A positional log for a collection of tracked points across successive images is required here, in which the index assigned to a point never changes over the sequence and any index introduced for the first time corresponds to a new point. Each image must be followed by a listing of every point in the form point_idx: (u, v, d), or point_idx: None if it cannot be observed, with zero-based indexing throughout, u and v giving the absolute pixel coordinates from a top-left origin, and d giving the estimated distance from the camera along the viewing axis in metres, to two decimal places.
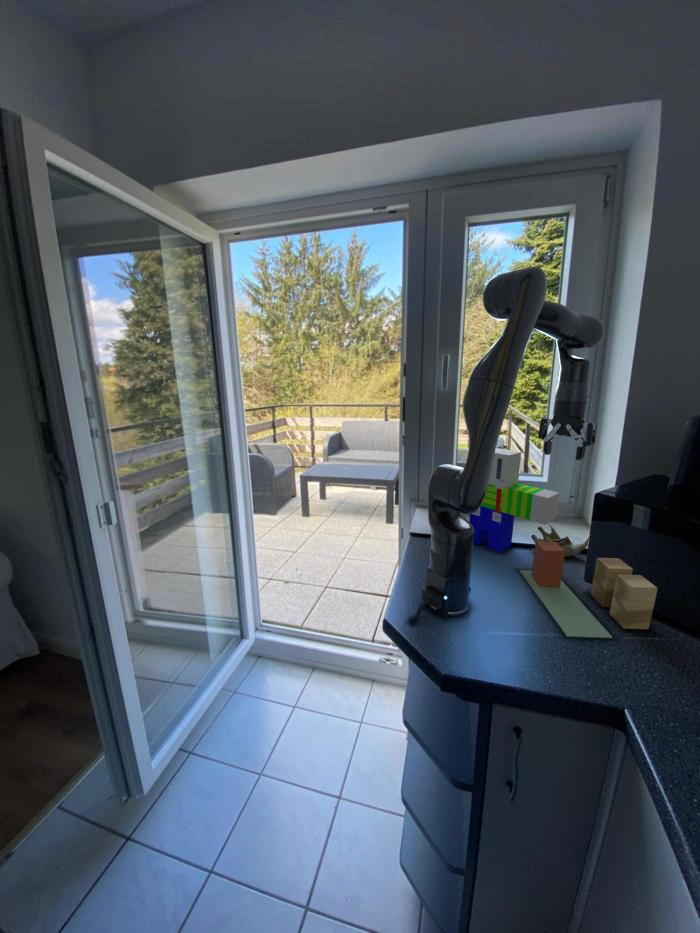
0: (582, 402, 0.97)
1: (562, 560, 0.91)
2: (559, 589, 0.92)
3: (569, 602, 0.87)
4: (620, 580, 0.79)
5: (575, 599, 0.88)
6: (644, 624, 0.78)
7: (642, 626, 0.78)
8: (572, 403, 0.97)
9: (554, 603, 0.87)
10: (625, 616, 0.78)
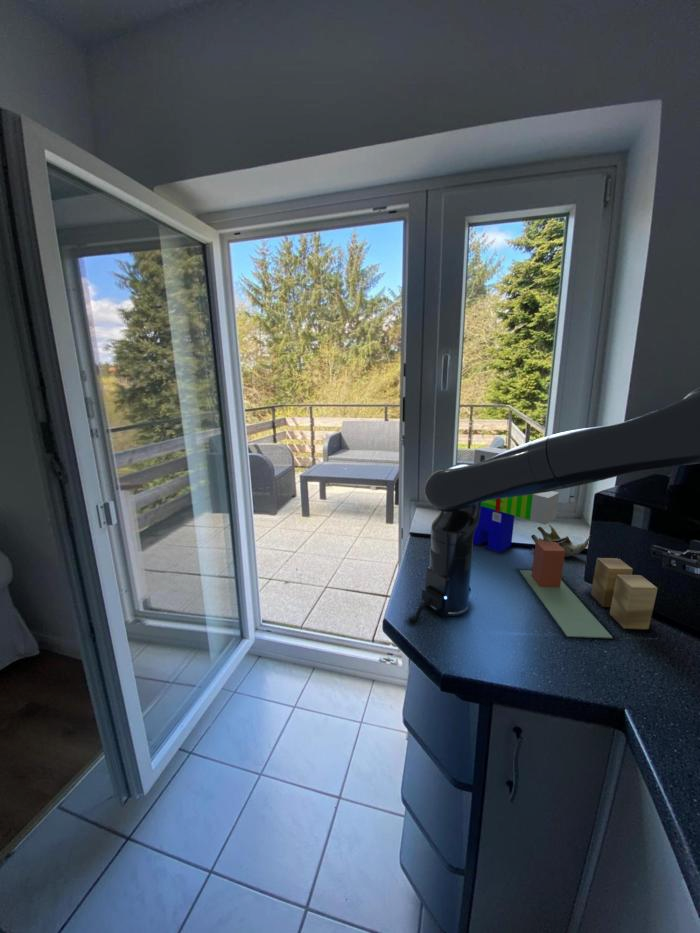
0: None
1: (562, 560, 0.91)
2: (559, 589, 0.92)
3: (569, 602, 0.87)
4: (620, 580, 0.79)
5: (575, 599, 0.88)
6: (644, 624, 0.78)
7: (642, 626, 0.78)
8: None
9: (554, 603, 0.87)
10: (625, 616, 0.78)
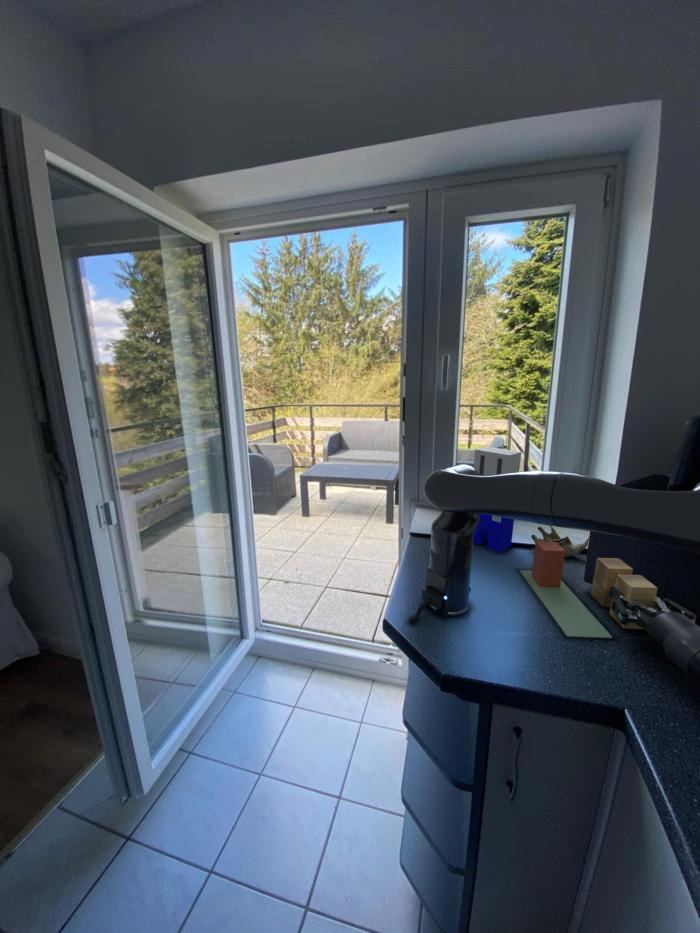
0: (664, 636, 0.66)
1: (562, 560, 0.91)
2: (559, 589, 0.92)
3: (569, 602, 0.87)
4: (620, 579, 0.80)
5: (575, 599, 0.88)
6: None
7: None
8: (674, 626, 0.66)
9: (554, 603, 0.87)
10: None
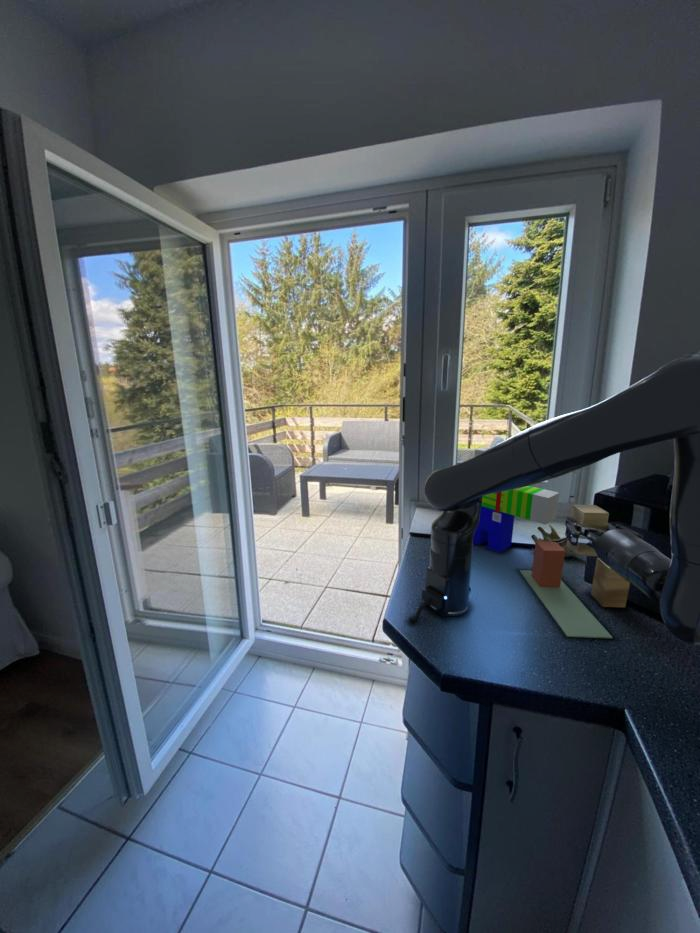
0: (608, 549, 0.69)
1: (562, 560, 0.91)
2: (559, 589, 0.92)
3: (569, 602, 0.87)
4: (575, 509, 0.82)
5: (575, 599, 0.88)
6: None
7: (595, 552, 0.81)
8: (618, 538, 0.68)
9: (554, 603, 0.87)
10: None
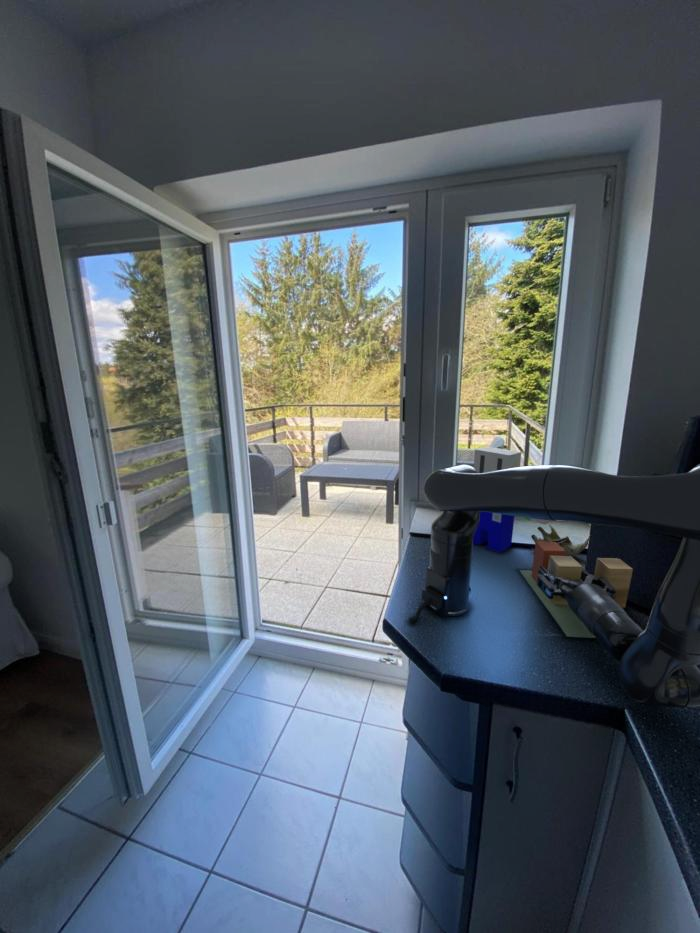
0: (578, 604, 0.74)
1: None
2: None
3: None
4: (551, 560, 0.87)
5: None
6: None
7: None
8: (587, 595, 0.73)
9: None
10: None
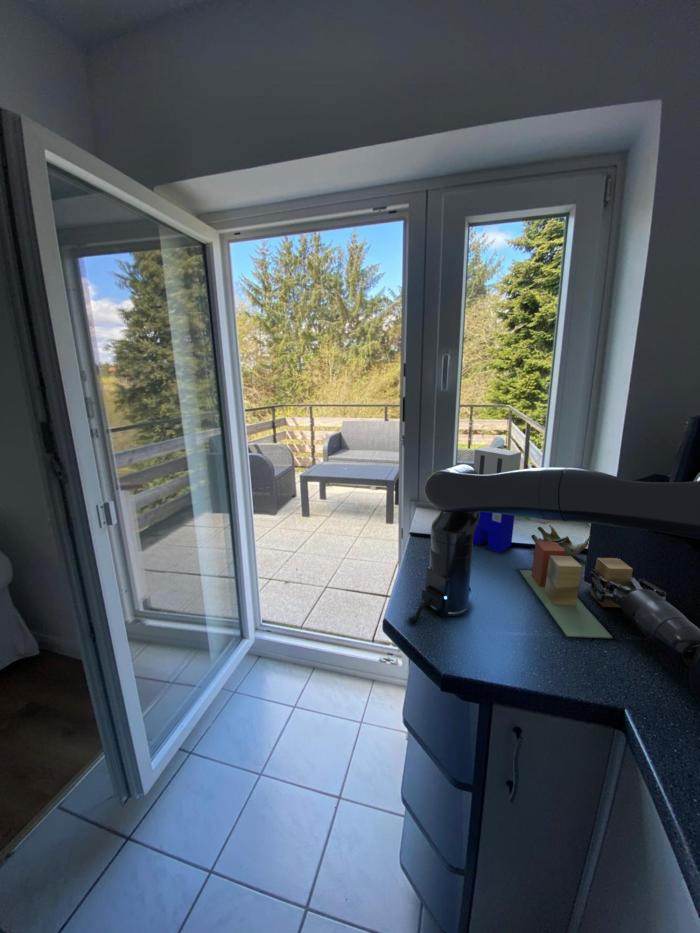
0: (635, 610, 0.73)
1: None
2: None
3: None
4: (551, 560, 0.87)
5: None
6: (572, 600, 0.86)
7: (570, 602, 0.86)
8: (644, 601, 0.73)
9: None
10: (555, 593, 0.86)
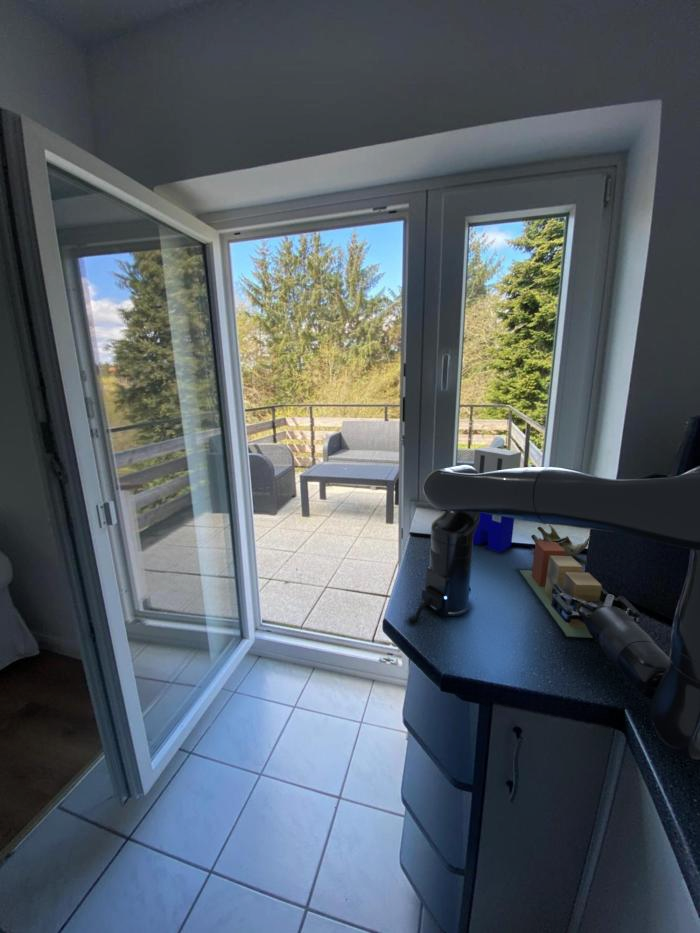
0: (600, 630, 0.67)
1: None
2: None
3: None
4: (551, 560, 0.87)
5: None
6: None
7: None
8: (609, 620, 0.66)
9: None
10: None
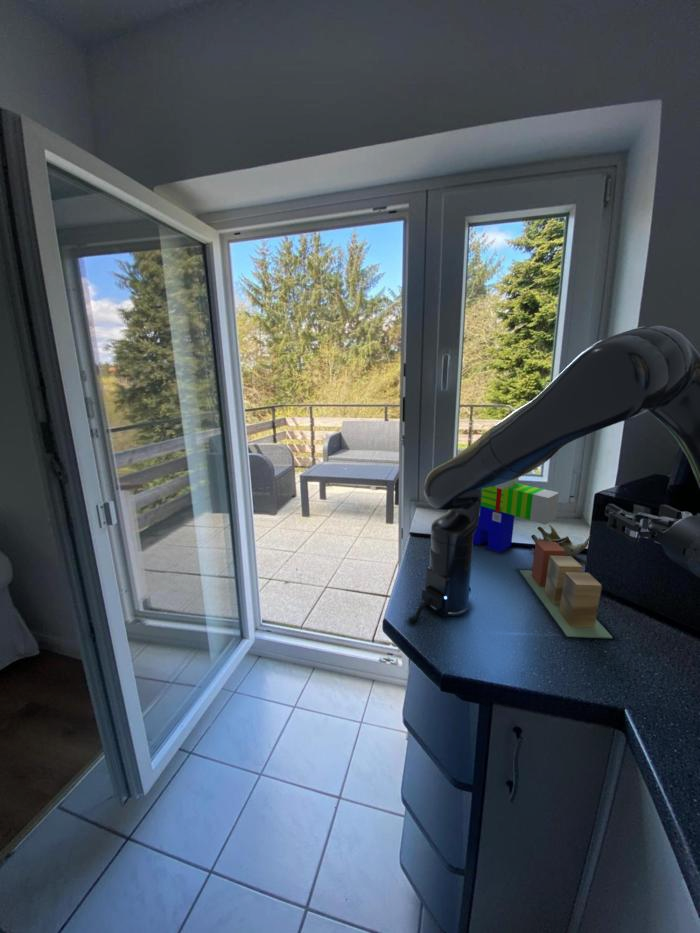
0: (687, 544, 0.48)
1: None
2: None
3: None
4: (551, 560, 0.87)
5: None
6: None
7: None
8: None
9: None
10: (555, 593, 0.86)
